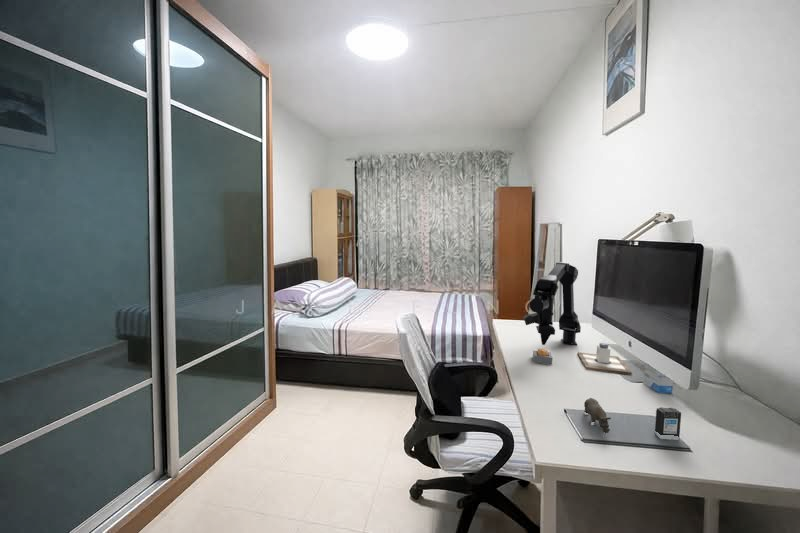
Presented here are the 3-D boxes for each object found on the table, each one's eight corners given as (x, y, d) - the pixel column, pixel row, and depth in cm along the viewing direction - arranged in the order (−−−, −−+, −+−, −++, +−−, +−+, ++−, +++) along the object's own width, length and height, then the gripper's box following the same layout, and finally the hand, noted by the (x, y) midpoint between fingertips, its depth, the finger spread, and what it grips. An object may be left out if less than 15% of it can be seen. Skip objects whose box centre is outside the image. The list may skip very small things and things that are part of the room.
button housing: (532, 356, 152) (533, 350, 152) (550, 358, 150) (550, 352, 150) (533, 362, 146) (534, 355, 146) (552, 364, 144) (552, 357, 143)
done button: (536, 355, 150) (537, 348, 150) (546, 356, 149) (547, 349, 149) (537, 358, 147) (538, 351, 146) (547, 359, 145) (548, 352, 145)
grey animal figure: (599, 439, 93) (601, 417, 92) (580, 412, 106) (581, 393, 106) (616, 440, 92) (617, 419, 91) (594, 413, 106) (596, 395, 105)
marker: (596, 358, 148) (597, 342, 147) (606, 360, 147) (608, 343, 146) (598, 362, 144) (599, 345, 144) (609, 363, 143) (610, 346, 142)
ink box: (673, 393, 120) (676, 360, 118) (658, 393, 120) (662, 360, 118) (655, 382, 128) (658, 351, 127) (642, 382, 128) (644, 351, 127)
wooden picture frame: (577, 354, 157) (577, 351, 157) (617, 358, 152) (618, 356, 152) (585, 369, 140) (586, 366, 139) (631, 374, 135) (631, 372, 135)
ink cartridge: (660, 440, 93) (662, 411, 92) (654, 435, 95) (656, 407, 94) (679, 440, 92) (681, 412, 92) (673, 435, 95) (675, 407, 94)
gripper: (524, 302, 157) (522, 336, 159) (526, 311, 139) (524, 349, 141) (550, 304, 154) (548, 339, 155) (556, 314, 136) (553, 352, 138)
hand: (543, 344), depth 147 cm, fingers closed
